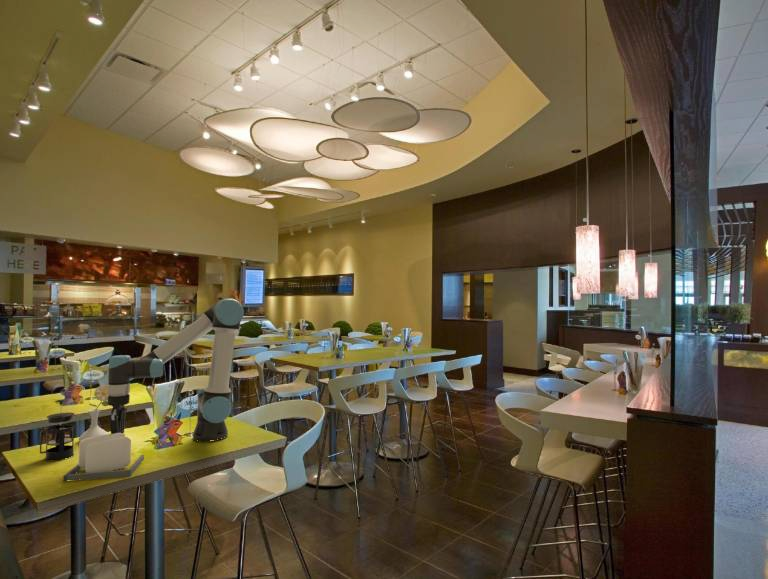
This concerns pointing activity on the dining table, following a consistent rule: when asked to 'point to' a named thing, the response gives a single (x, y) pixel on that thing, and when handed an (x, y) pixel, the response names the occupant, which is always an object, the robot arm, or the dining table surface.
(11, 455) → the dining table surface
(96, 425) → the flower in vase
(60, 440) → the french press
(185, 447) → the dining table surface
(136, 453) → the dining table surface
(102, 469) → the white napkin holder
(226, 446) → the dining table surface
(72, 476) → the frame
